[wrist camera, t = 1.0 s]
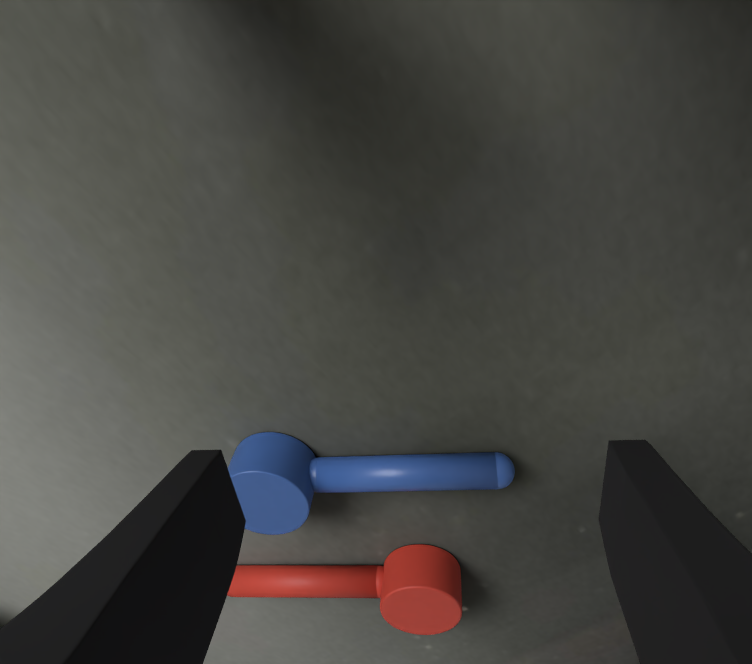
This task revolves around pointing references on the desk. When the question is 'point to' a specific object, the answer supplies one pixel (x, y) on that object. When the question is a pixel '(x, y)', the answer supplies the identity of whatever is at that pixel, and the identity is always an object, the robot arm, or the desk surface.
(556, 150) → the desk surface
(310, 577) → the red spoon
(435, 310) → the desk surface
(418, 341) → the desk surface
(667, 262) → the desk surface
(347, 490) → the blue spoon
